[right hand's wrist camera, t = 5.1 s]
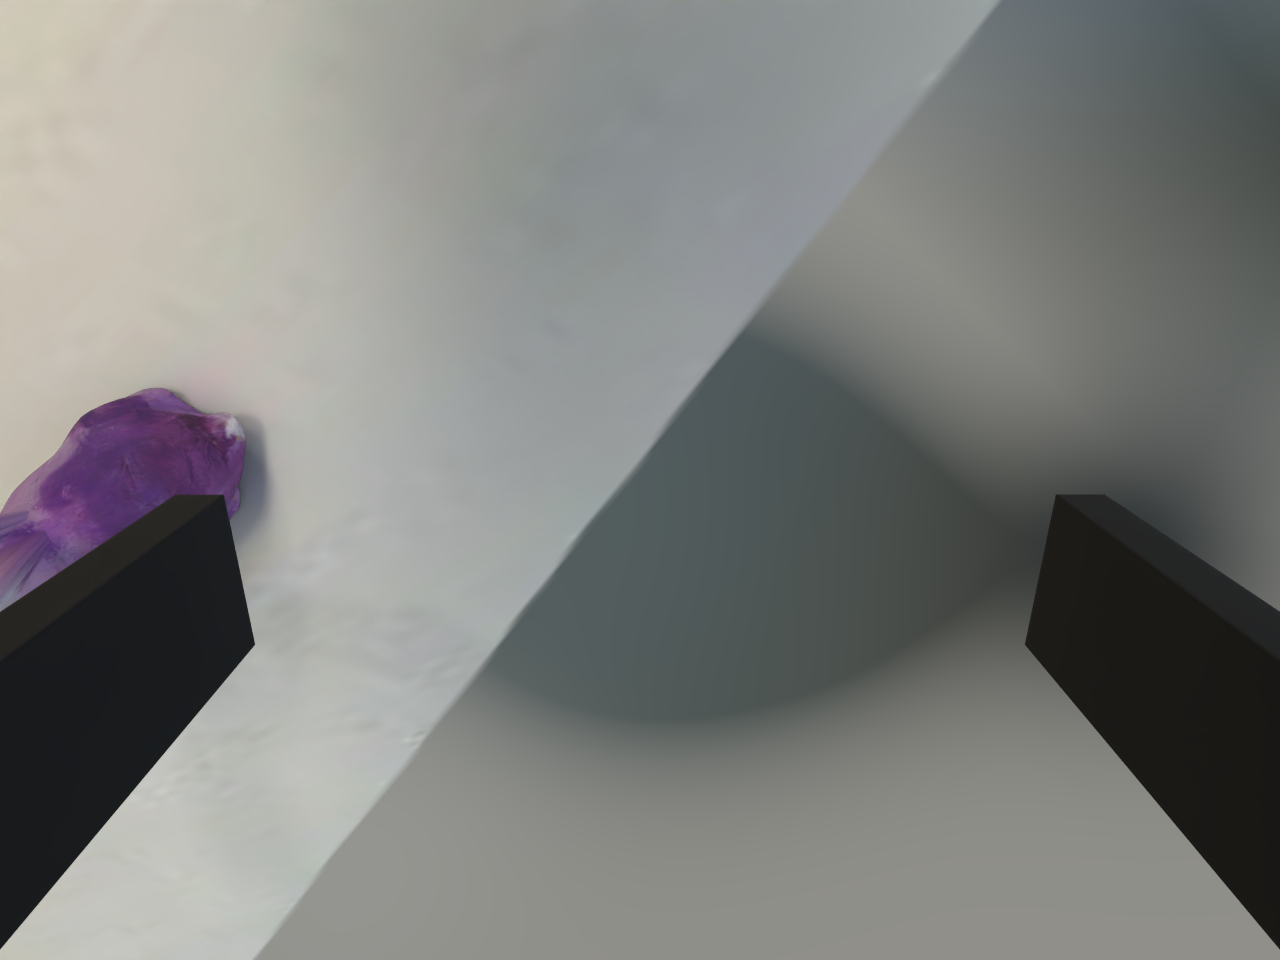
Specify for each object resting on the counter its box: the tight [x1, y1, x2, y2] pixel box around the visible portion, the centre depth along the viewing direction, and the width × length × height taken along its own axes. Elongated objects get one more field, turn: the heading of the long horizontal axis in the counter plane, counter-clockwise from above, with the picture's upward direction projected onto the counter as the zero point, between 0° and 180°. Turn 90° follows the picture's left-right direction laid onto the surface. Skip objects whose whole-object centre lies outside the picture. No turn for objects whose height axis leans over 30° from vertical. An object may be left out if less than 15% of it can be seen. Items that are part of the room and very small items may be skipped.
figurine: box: [0, 388, 246, 612], centre depth 35 cm, size 9×10×15 cm
